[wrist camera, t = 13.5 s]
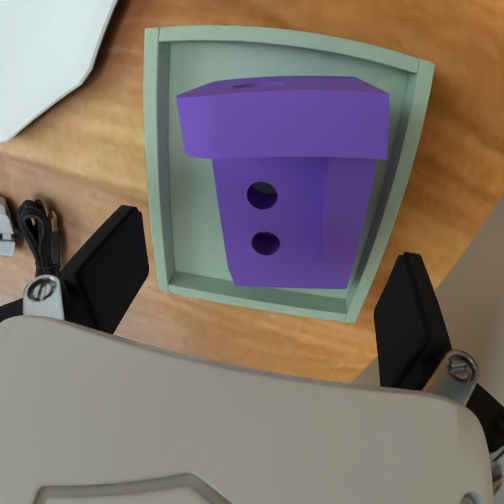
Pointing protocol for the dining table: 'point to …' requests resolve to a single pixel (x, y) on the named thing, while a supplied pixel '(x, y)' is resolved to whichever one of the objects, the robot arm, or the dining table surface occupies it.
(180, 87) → the shallow tray
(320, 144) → the bracket
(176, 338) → the dining table surface
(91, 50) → the plate
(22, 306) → the robot arm
